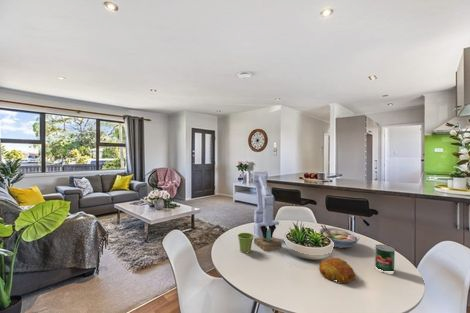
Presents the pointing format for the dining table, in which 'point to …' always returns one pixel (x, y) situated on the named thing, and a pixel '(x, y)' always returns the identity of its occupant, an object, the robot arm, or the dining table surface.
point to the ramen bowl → (340, 236)
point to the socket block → (269, 245)
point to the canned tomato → (384, 257)
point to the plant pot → (245, 241)
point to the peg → (268, 236)
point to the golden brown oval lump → (336, 270)
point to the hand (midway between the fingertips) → (267, 237)
